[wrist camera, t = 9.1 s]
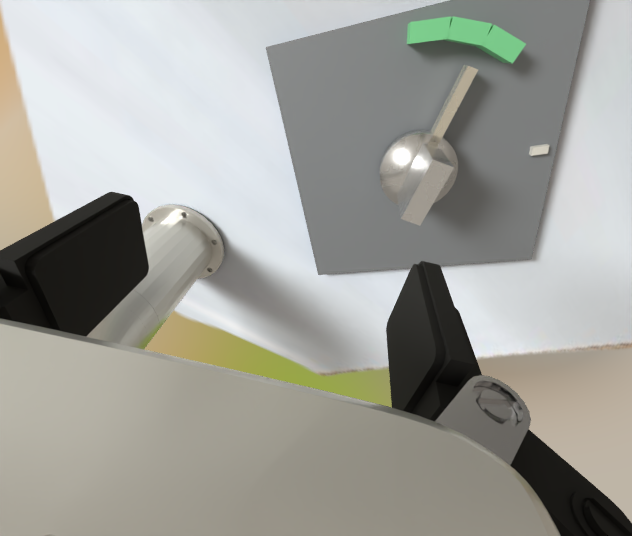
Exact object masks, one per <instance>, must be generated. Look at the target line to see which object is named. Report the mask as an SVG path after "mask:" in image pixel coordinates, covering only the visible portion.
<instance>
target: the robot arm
mask: <svg viewBox="0 0 632 536" xmlns="http://www.w3.org/2000/svg"><path fill="white" fill-rule="evenodd" d="M223 258H224V246H223V242H222V239H221V237H220V235H219V233H218V231H217V230H216V229H215V227H214V226H213V225H212V223H210V222H209V221H208V220H207V219H206V218H205V217H204V216H202V215H201V214H199V213H198V212H196V211H194V210H192V209H190V208H187V207H184V206H180V205H174V204H173V205H163V206H159V207H157V208H156V209H154V210H152V211H151V212H150V213H149V214H148V215H147V216H146V217H145V219H144V221H143V224H141V218H140V213H139V207H138V204H137V202H135V201H134V200H133V198H132V197H131V196H129V195H124V194H120V193H115V192H109V193H107V194H105V195H103V196H101V197H100V198H98V199H96V200H94V201H92V202H90V203H88V204H86V205H85V206H83V207H81V208H79V209H77V210H75V211H73V212H72V213H70V214H68V215H66V216H64V217H62V218H60V219H58V220H57V221H55V222H53V223H51V224H49V225H47V226H45V227H44V228H42V229H40V230H38V231H36V232H34V233H32V234H30V235H29V236H27V237H25V238H23V239H21V240H19V241H17V242H15V243H14V244H12V245H10V246H8V247H6V248H4V249H3V250H0V536H632V523H631V522H630V521H629V519H627V517H626V516H625V514H624V513H623V512H622V511H621V510H620V509H619V508H618V507H617V506H616V505H615V504H614V503H613V502H612V501H611V500H610V499H609V498H608V497H607V496H605V495H604V494H603V493H602V492H601V491H600V490H598V489H597V488H596V487H595V486H594V485H593V484H592V483H590V482H589V481H588V480H587V479H586V478H585V477H583V476H582V475H581V474H580V473H579V472H578V471H576V470H575V469H574V468H573V467H572V466H571V465H569V464H568V463H567V462H566V461H565V460H564V459H562V458H561V457H560V456H559V455H558V454H557V453H555V452H554V451H553V450H552V449H551V448H549V447H548V446H547V445H546V444H545V443H544V442H542V441H541V440H540V439H539V438H538V437H537V436H536V435H534V434H533V433H532V432H531V431H530V430H529V426H530V421H531V418H530V414H529V410H528V409H527V407H526V405H525V403H524V401H523V400H522V399H521V398H520V397H519V395H518V394H517V393H516V392H515V391H514V390H512V389H511V388H510V387H509V386H508V385H506V384H504V383H503V382H501V381H500V380H497V379H495V378H492V377H490V376H483V375H482V374H481V371H480V369H479V366H478V363H477V360H476V357H475V355H474V352H473V349H472V346H471V344H470V341H469V338H468V335H467V332H466V330H465V327H464V324H463V321H462V319H461V316H460V313H459V311H458V310H457V309H456V308H455V307H454V304H453V301H452V298H451V296H450V293H449V290H448V287H447V284H446V281H445V279H444V276H443V273H442V270H441V267H440V265H438V264H434V263H430V262H425V261H421V262H420V263H419V264H413V266H412V268H411V270H410V272H409V274H408V277H407V279H406V281H405V284H404V286H403V288H402V290H401V293H400V295H399V297H398V299H397V302H396V304H395V306H394V308H393V311H392V313H391V315H390V317H389V320H388V323H387V328H386V332H387V346H388V359H389V372H390V386H391V400H392V408H391V407H388V406H383V405H380V404H376V403H371V402H368V401H363V400H360V399H355V398H351V397H347V396H343V395H339V394H335V393H331V392H327V391H323V390H319V389H314V388H310V387H306V386H301V385H297V384H293V383H288V382H284V381H280V380H275V379H271V378H266V377H263V376H258V375H254V374H250V373H245V372H241V371H237V370H232V369H228V368H223V367H219V366H215V365H210V364H206V363H201V362H197V361H192V360H188V359H184V358H179V357H175V356H170V355H166V354H162V353H157V352H152V351H148V350H144V349H145V347H146V346H147V344H148V343H149V342H150V341H151V339H152V338H153V337H154V335H155V334H156V333H157V331H158V330H159V329H160V328H161V326H162V325H163V323H164V322H165V321H166V320H167V318H168V317H169V316H170V314H171V313H172V312H173V310H174V309H175V308H176V306H177V305H178V304H179V303H180V301H181V300H182V299H183V297H184V296H185V295H186V293H187V292H188V291H189V289H190V288H191V287H192V285H193V284H194V283H195V281H196V280H197V279H199V278H205V277H207V276H210V275H212V274H213V273H214V272H216V270H217V269H218V268H219V267H220V265H221V263H222V261H223Z"/></svg>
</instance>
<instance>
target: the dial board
mask: <svg viewBox="0 0 632 536" xmlns="http://www.w3.org/2000/svg"><path fill="white" fill-rule="evenodd" d="M589 3H590V0H450V1H446V2H442V3H438V4H434V5H430V6H426V7H422V8H418V9H414V10H410V11H406V12H403V13H399V14H395V15H391V16H387V17H383V18H379V19H375V20H371V21H367V22H363V23H359V24H355V25H351V26H348V27H344V28H340V29H336V30H332V31H328V32H324V33H320V34H316V35H312V36H308V37H304V38H300V39H296V40H293V41H289V42H285V43H281V44H277V45H273V46H269V47H266V50H267V55H268V59H269V63H270V68H271V72H272V76H273V81H274V85H275V89H276V94H277V98H278V102H279V107H280V111H281V115H282V120H283V124H284V128H285V133H286V137H287V141H288V146H289V150H290V154H291V159H292V163H293V167H294V172H295V176H296V180H297V185H298V189H299V193H300V198H301V202H302V206H303V210H304V215H305V219H306V223H307V228H308V232H309V236H310V241H311V245H312V249H313V254H314V258H315V262H316V267H317V271H318V275H323V274H337V273H351V272H365V271H378V270H392V269H406V268H412V266H413V264H419V263H420V262H421V261H425V262H430V263H434V264H438V265H440V266H447V265H461V264H475V263H489V262H502V261H516V260H530V259H532V254H533V250H534V246H535V241H536V237H537V232H538V228H539V224H540V219H541V215H542V210H543V206H544V201H545V197H546V193H547V188H548V184H549V179H550V175H551V171H552V166H553V162H554V157H555V153H556V148H557V144H558V140H559V135H560V131H561V126H562V122H563V118H564V113H565V109H566V104H567V100H568V96H569V91H570V87H571V82H572V78H573V73H574V69H575V65H576V60H577V56H578V51H579V47H580V43H581V38H582V34H583V29H584V25H585V20H586V16H587V12H588V7H589ZM463 65H467V66H470V67H473V68H475V69H478V72H477V73H476V75H475V77H474V79H473V81H472V83H471V85H470V87H469V88H468V90H467V92H466V94H465V96H464V98H463V100H462V102H461V103H460V105H459V107H458V109H457V111H456V113H455V115H454V117H453V118H452V120H451V122H450V124H449V126H448V128H447V130H446V132H445V133H444V135H443V137H444V138H445V139H446V140H447V141H448V143H449V144H450V145H451V146H452V148H453V149H454V151H455V153H456V156H457V160H458V173H457V177H456V179H455V182H454V184H453V186H452V187H451V189H450V190H449V191H448V193H447V194H446V195H445V196H444V197H442V198H441V199H440V200H438V201H437V202H435V203H433V205H432V206H431V208H430V210H429V211H428V213H427V215H426V216H425V218H424V220H423V222H422V223H421V225H420V226H419V225H416V224H414V223H411V222H408V221H405V220H403V219H401V216H400V211H399V205H397V204H395V203H394V202H392V201H391V200H390V199H389V198H388V197H387V196H386V194H385V193H384V191H383V189H382V186H381V182H380V162H381V159H382V156H383V154H384V152H385V150H386V149H387V147H388V146H389V145H390V144H391V143H392V142H393V141H394V140H395V139H396V138H398V137H399V136H401V135H403V134H405V133H407V132H410V131H413V130H430V131H431V129H432V127H433V125H434V123H435V121H436V119H437V117H438V115H439V113H440V111H441V109H442V107H443V105H444V103H445V101H446V99H447V97H448V95H449V93H450V91H451V89H452V87H453V85H454V83H455V81H456V79H457V77H458V75H459V73H460V71H461V69H462V67H463Z"/></svg>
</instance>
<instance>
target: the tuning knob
mask: <svg viewBox="0 0 632 536" xmlns="http://www.w3.org/2000/svg"><path fill="white" fill-rule="evenodd" d="M477 72H478V69H475V68H473V67H470V66H467V65H463V67H462V69H461V71H460V73H459V75H458V77H457V79H456V81H455V83H454V85H453V87H452V89H451V91H450V93H449V95H448V97H447V99H446V101H445V103H444V105H443V107H442V109H441V111H440V113H439V115H438V117H437V119H436V121H435V123H434V125H433V127H432V129H431V131H430V130H413V131H410V132H407V133H405V134H403V135H401V136H399V137H398V138H396V139H395V140H394V141H393V142H392V143H391V144H390V145H389V146H388V147H387V149H386V150H385V152H384V154H383V156H382V159H381V162H380V182H381V186H382V189H383V191H384V193H385V194H386V196H387V197H388V198H389V199H390V200H391V201H392V202H394V203H395V204H397V205H399V211H400V216H401V219H403V220H405V221H408V222H411V223H414V224H416V225H419V226H420V225H421V223H422V222H423V220H424V218H425V216H426V215H427V213H428V211H429V210H430V208H431V206H432V205H433V203H435V202H437V201H438V200H440V199H441V198H442V197H444V196H445V195H446V194H447V193H448V191H449V190H450V189H451V187H452V186H453V184H454V182H455V179H456V177H457V173H458V160H457V156H456V153H455V151H454V149H453V148H452V146H451V145H450V144H449V143H448V141H447V140H446V139H445V138H444V137H443V135H444V133H445V132H446V130H447V128H448V126H449V124H450V122H451V120H452V118H453V117H454V115H455V113H456V111H457V109H458V107H459V105H460V103H461V102H462V100H463V98H464V96H465V94H466V92H467V90H468V88H469V87H470V85H471V83H472V81H473V79H474V77H475V75H476V73H477Z"/></svg>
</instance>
